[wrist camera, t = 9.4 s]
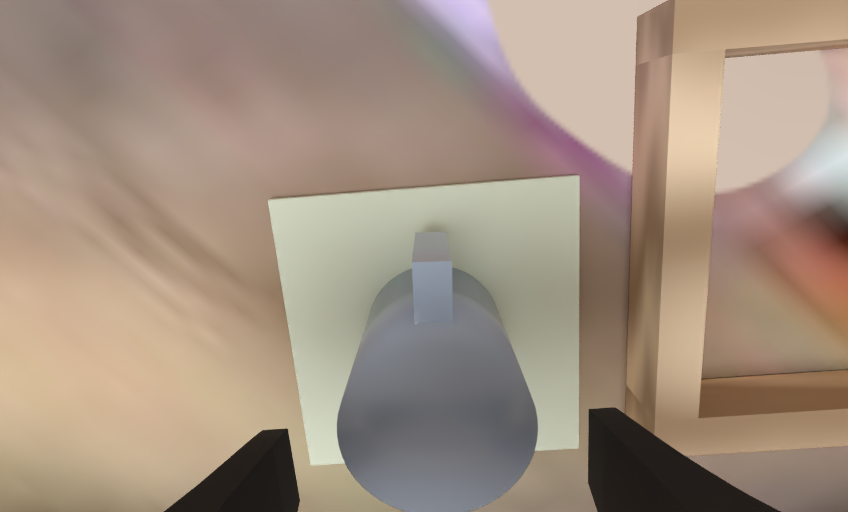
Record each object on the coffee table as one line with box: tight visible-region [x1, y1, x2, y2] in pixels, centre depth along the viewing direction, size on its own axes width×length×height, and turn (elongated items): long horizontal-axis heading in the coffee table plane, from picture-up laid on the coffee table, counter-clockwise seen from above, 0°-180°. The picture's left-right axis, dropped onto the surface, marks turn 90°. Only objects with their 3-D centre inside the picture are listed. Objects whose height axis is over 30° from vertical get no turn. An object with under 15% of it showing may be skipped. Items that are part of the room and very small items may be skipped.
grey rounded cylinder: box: [337, 232, 538, 512], centre depth 15 cm, size 7×5×6 cm
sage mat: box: [268, 175, 580, 465], centre depth 18 cm, size 11×11×1 cm
